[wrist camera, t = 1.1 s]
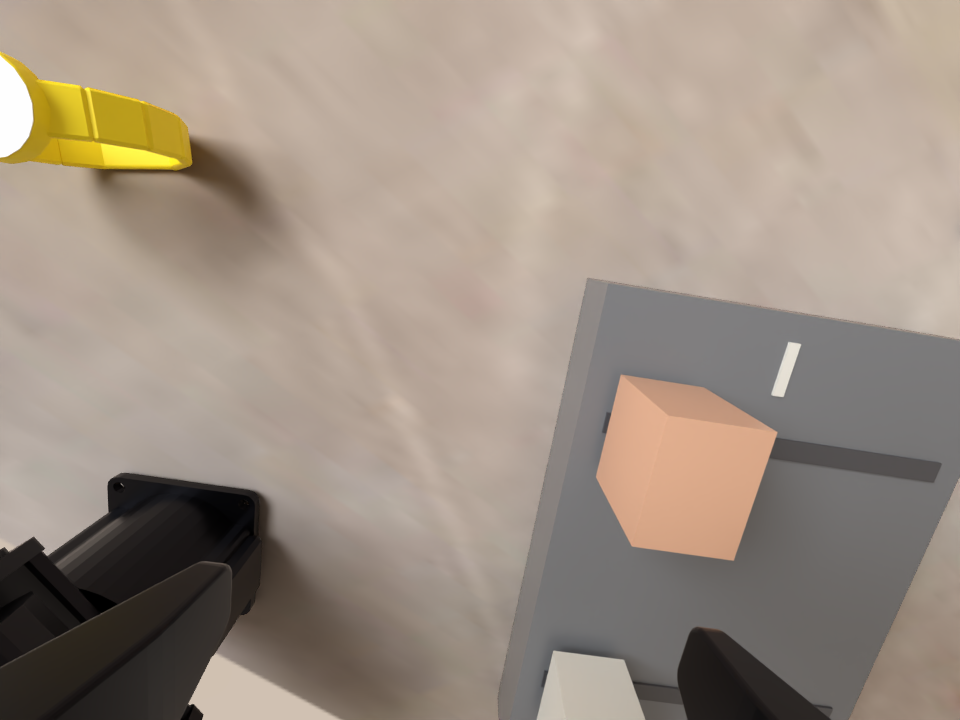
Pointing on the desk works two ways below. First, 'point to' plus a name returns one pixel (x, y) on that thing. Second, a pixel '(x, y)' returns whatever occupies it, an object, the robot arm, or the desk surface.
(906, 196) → the desk surface
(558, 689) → the cream fader
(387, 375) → the desk surface
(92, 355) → the desk surface
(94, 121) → the watch
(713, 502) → the terracotta fader
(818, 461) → the fader console
